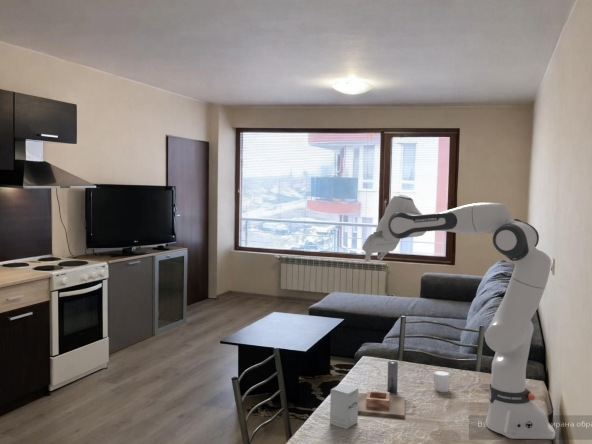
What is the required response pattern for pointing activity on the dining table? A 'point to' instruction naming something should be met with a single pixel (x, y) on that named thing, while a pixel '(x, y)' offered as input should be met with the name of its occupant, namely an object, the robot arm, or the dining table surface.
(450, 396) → the dining table surface
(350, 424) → the supplement box
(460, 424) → the dining table surface
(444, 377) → the shot glass
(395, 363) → the peg
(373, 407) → the keeper board
